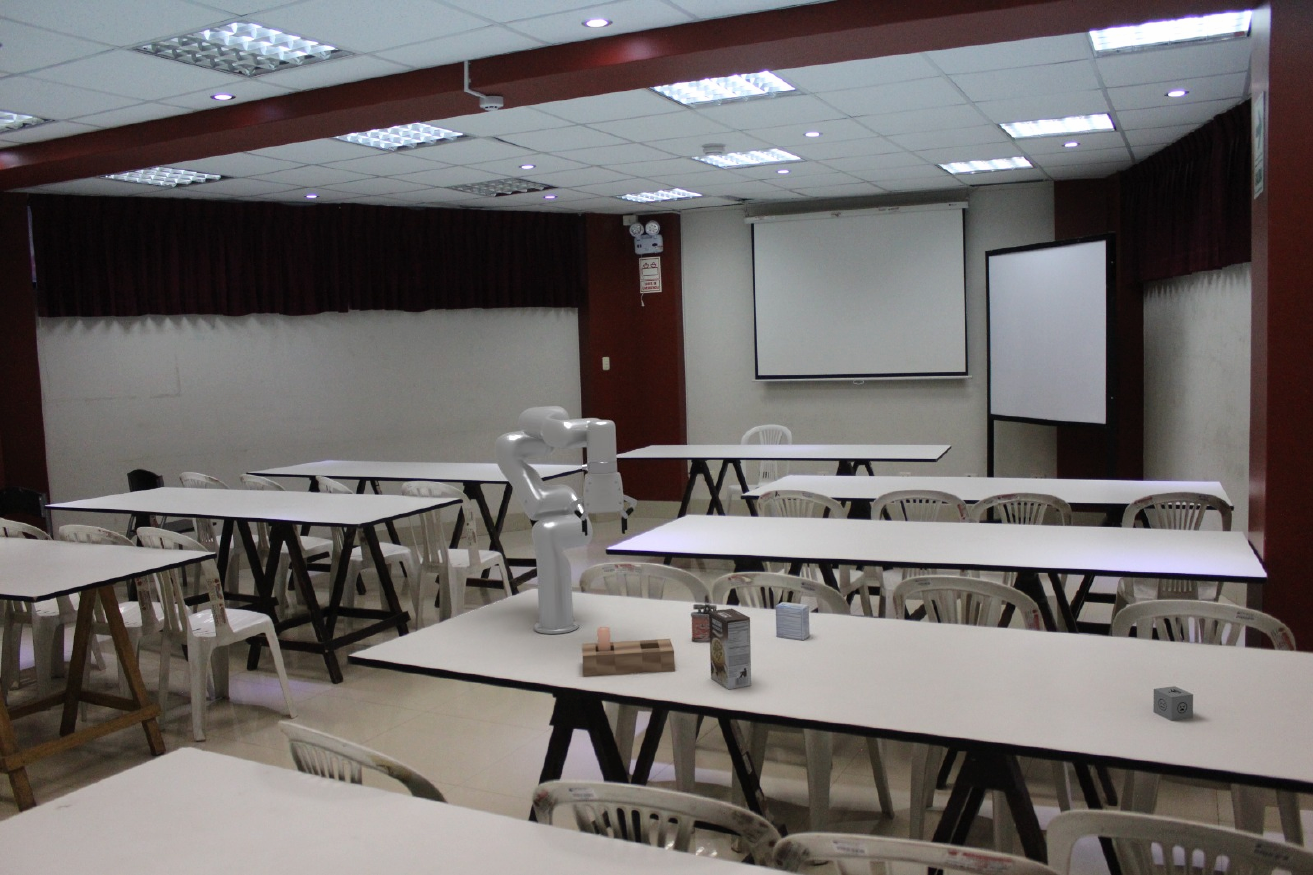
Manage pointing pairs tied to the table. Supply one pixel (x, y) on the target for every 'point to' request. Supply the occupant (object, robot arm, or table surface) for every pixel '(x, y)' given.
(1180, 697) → the dice cube
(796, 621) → the medicine box
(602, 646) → the peg
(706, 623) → the lighter
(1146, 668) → the table surface
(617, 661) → the hole block
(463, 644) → the table surface
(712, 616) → the coffee box
